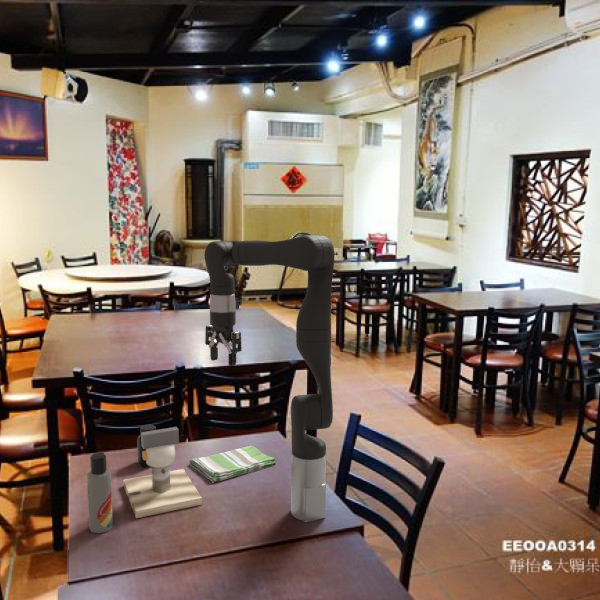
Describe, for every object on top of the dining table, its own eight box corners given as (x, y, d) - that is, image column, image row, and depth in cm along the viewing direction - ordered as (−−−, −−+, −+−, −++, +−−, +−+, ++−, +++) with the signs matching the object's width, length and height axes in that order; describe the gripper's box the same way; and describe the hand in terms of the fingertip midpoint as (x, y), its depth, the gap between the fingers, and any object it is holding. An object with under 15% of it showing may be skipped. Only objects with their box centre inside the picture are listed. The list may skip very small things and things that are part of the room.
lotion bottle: (116, 527, 152) (114, 454, 149) (96, 536, 148) (93, 461, 145) (105, 519, 156) (102, 447, 153) (85, 527, 152) (81, 454, 149)
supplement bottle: (156, 467, 187) (155, 431, 185) (135, 467, 187) (134, 431, 185) (161, 458, 194) (161, 423, 192) (141, 458, 194) (140, 423, 192)
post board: (201, 504, 165) (201, 470, 163) (136, 518, 157) (134, 483, 155) (183, 474, 183) (183, 444, 181) (123, 485, 175) (122, 454, 173)
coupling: (174, 452, 174) (173, 423, 173) (181, 463, 167) (181, 433, 165) (139, 458, 169) (139, 429, 168) (146, 470, 162) (145, 439, 161)
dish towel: (188, 465, 191) (188, 454, 190) (249, 448, 204) (249, 439, 204) (213, 485, 177) (213, 474, 177) (277, 466, 191) (277, 456, 190)
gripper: (248, 310, 171) (248, 365, 174) (217, 304, 181) (218, 356, 184) (227, 314, 166) (228, 369, 169) (197, 307, 176) (198, 360, 178)
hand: (223, 362), depth 176 cm, fingers open, 8 cm apart
